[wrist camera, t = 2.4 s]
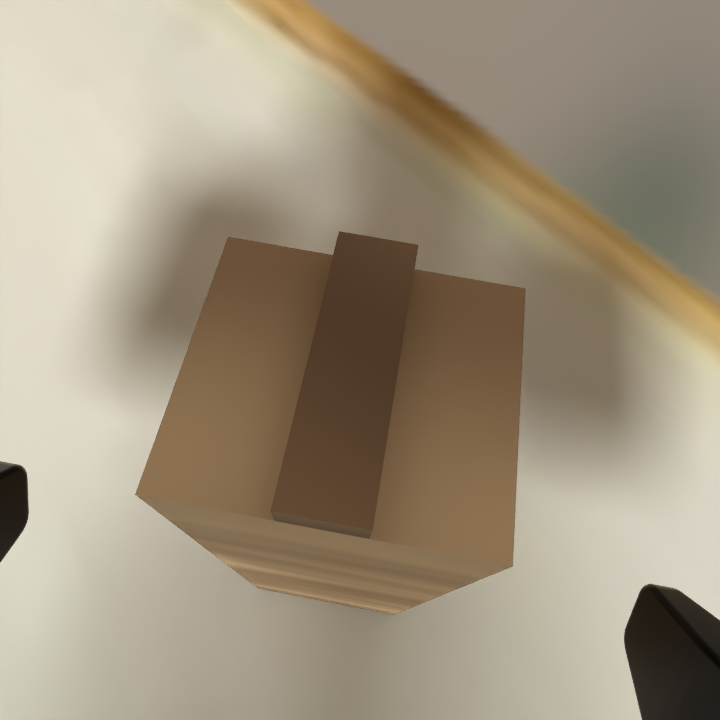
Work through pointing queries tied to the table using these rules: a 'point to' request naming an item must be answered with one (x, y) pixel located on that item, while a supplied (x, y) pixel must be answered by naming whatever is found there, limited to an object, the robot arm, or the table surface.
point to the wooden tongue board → (346, 424)
